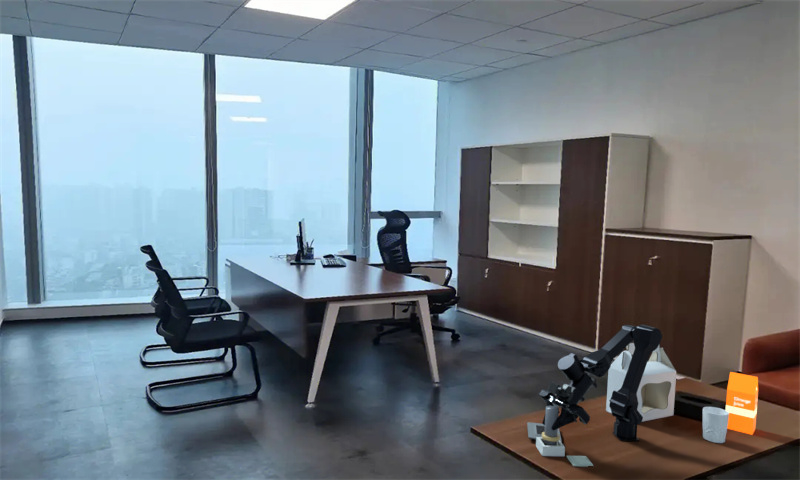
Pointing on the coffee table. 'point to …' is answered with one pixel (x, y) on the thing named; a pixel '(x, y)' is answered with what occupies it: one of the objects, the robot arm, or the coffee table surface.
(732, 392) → the orange juice
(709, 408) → the white cup
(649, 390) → the gable box
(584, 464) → the rubber pad
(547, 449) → the frame
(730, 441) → the coffee table surface
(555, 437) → the grey tapered rounded cylinder
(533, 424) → the electrical outlet
